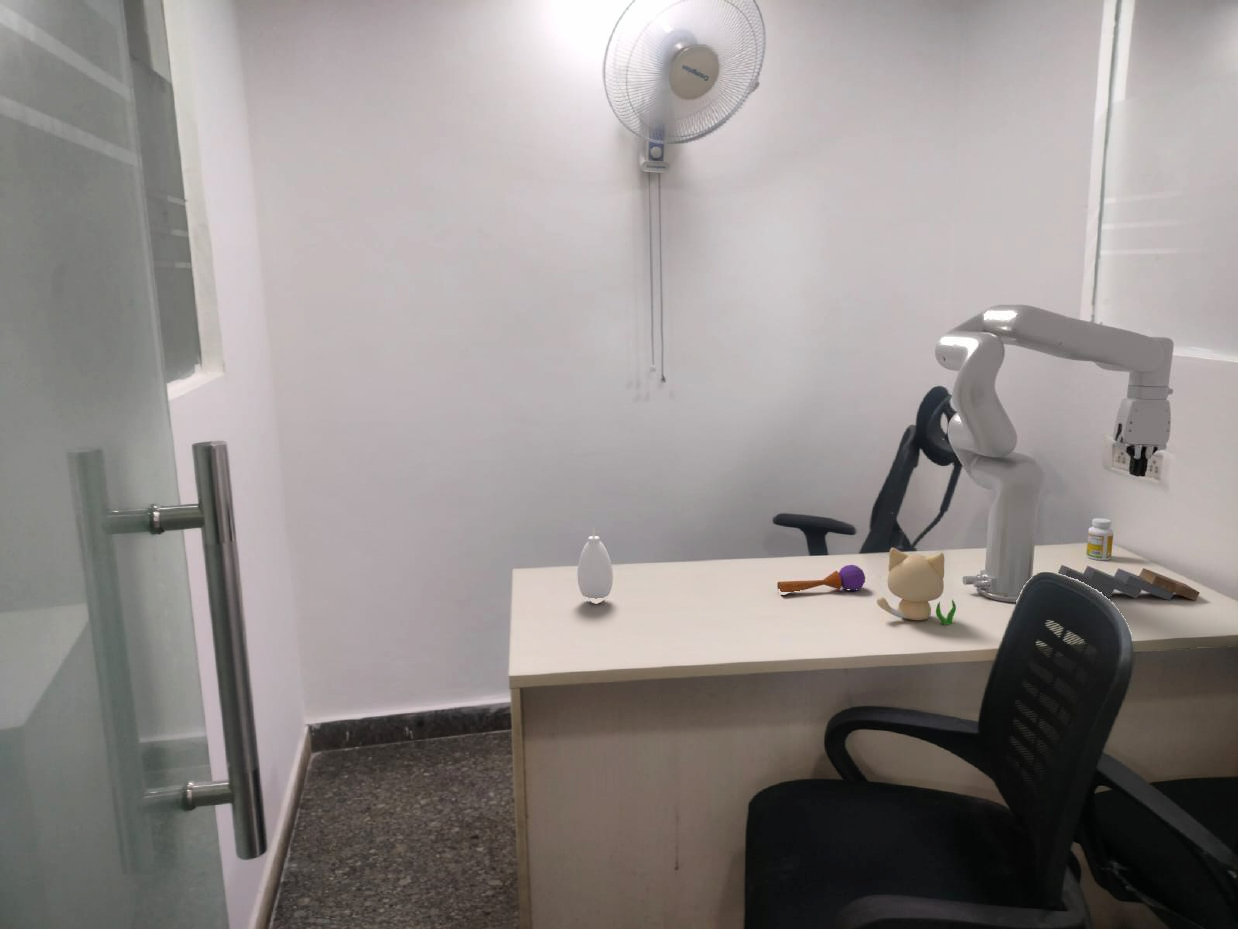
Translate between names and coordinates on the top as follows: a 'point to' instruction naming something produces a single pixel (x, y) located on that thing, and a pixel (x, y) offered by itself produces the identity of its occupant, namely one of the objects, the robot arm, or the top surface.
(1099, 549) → the supplement bottle
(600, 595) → the white tall oval piece
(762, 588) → the top surface
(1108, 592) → the domino
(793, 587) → the kendama
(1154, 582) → the domino
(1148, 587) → the domino
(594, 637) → the top surface
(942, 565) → the kitten
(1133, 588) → the domino
